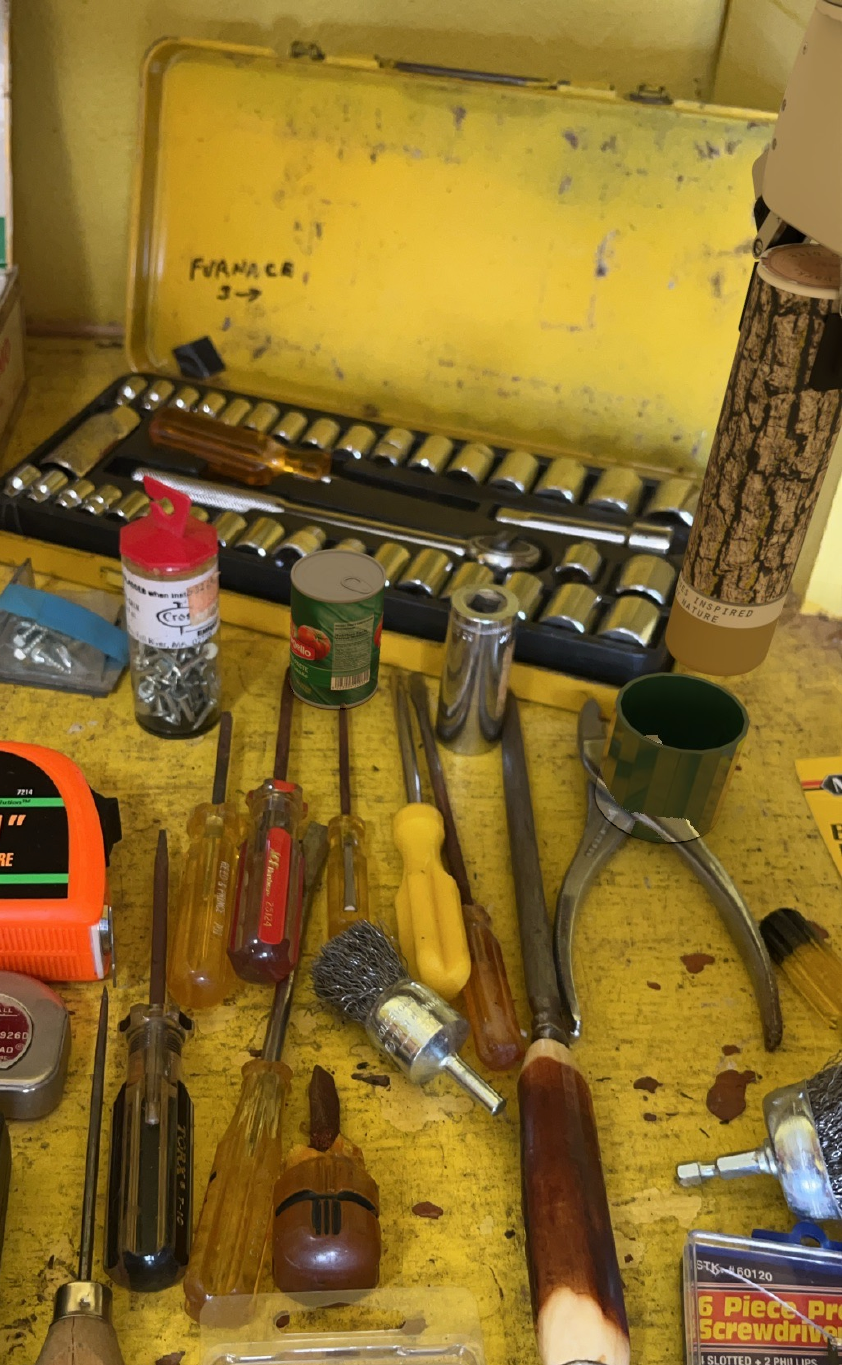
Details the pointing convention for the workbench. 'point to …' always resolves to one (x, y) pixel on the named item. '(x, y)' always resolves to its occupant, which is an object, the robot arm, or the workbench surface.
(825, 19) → the robot arm
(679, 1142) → the workbench surface
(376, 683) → the canned tomato
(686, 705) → the tool cup
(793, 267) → the paper tube
